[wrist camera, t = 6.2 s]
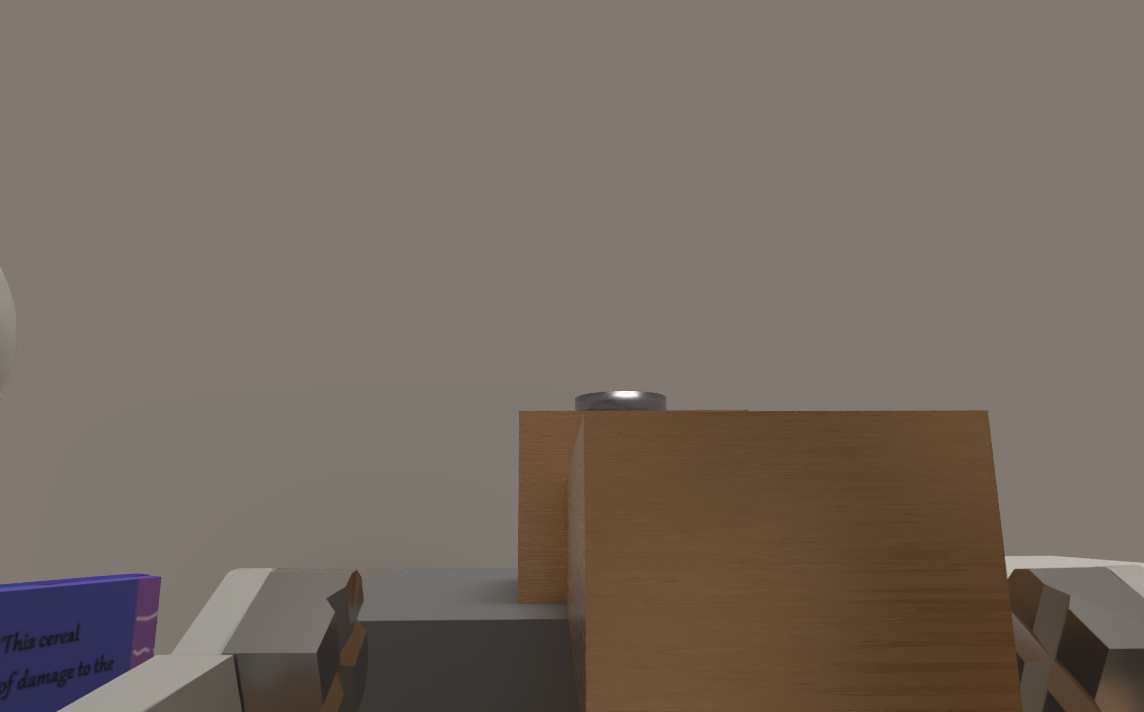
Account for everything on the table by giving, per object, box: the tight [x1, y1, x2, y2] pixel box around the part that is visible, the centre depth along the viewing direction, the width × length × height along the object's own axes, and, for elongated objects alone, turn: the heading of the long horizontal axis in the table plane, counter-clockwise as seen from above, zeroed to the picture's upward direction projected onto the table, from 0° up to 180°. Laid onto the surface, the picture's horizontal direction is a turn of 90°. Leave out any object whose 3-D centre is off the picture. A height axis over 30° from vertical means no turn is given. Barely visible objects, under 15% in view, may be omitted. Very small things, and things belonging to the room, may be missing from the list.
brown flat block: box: [518, 391, 1023, 712], centre depth 14 cm, size 5×17×5 cm, turn 1°
